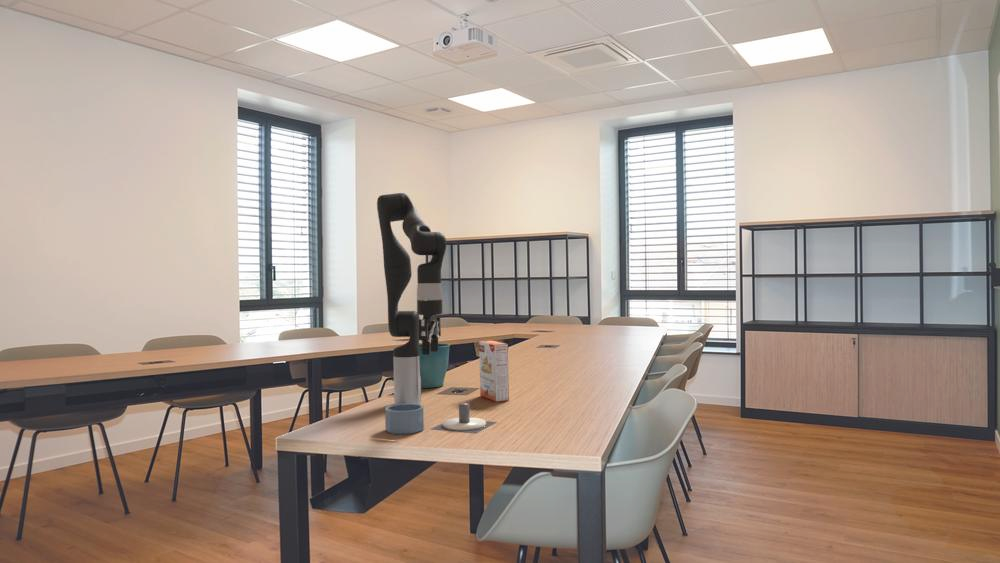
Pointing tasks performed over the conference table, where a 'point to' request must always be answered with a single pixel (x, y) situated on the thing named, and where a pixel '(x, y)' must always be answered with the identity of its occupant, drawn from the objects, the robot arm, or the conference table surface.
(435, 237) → the robot arm
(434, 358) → the flower pot
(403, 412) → the bowl
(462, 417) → the lid
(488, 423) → the mat
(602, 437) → the conference table surface
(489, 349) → the cracker box
